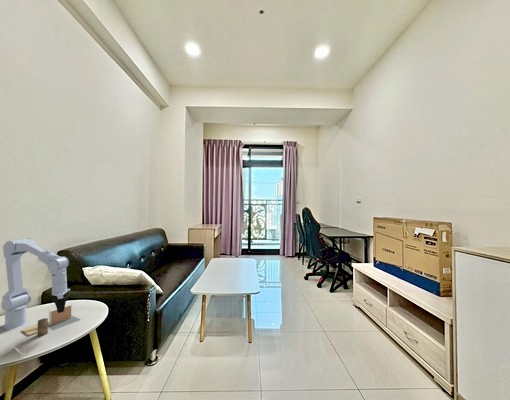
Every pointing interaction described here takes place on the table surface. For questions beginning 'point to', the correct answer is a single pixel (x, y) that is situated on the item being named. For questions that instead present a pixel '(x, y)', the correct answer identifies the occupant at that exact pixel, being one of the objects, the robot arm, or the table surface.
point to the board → (31, 330)
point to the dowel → (42, 327)
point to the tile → (59, 315)
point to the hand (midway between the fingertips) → (60, 309)
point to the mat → (63, 323)
